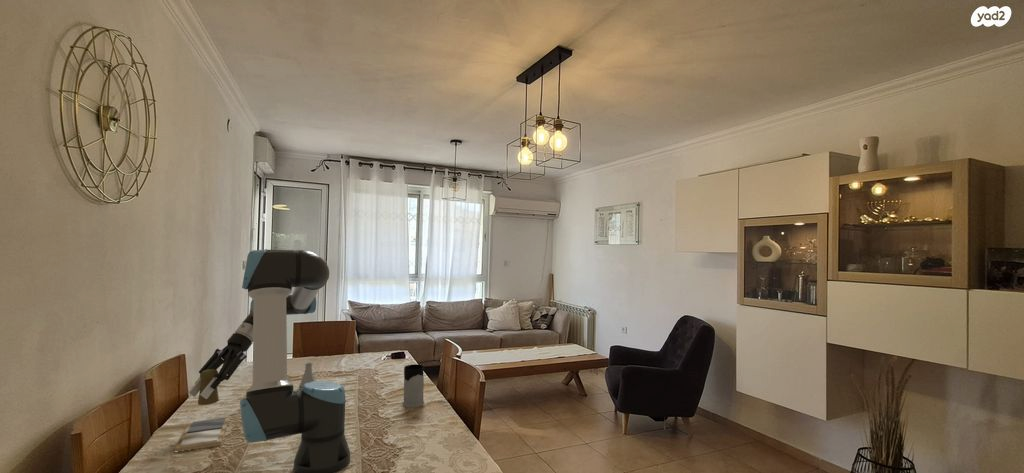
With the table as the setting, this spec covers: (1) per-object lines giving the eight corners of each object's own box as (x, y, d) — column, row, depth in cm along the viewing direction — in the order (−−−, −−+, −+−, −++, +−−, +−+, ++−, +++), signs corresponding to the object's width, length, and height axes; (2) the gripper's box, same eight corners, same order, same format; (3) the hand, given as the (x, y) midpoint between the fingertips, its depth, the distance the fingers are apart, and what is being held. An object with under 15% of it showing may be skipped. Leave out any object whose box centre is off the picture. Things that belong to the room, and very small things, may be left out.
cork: (215, 397, 156) (216, 366, 157) (221, 401, 152) (222, 369, 153) (195, 402, 152) (196, 370, 152) (200, 406, 148) (201, 373, 148)
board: (221, 445, 140) (221, 440, 140) (174, 452, 134) (174, 447, 134) (229, 420, 159) (229, 416, 159) (189, 426, 154) (189, 421, 154)
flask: (299, 384, 203) (300, 362, 203) (316, 382, 206) (317, 360, 206) (299, 388, 196) (299, 366, 196) (316, 386, 199) (317, 364, 199)
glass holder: (407, 409, 173) (408, 370, 173) (394, 399, 184) (394, 363, 185) (428, 404, 178) (428, 367, 178) (413, 395, 189) (414, 360, 190)
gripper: (219, 329, 165) (171, 386, 149) (255, 333, 159) (208, 393, 143) (232, 341, 170) (186, 397, 154) (267, 345, 164) (223, 404, 148)
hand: (197, 395), depth 149 cm, fingers closed on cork, 5 cm apart
